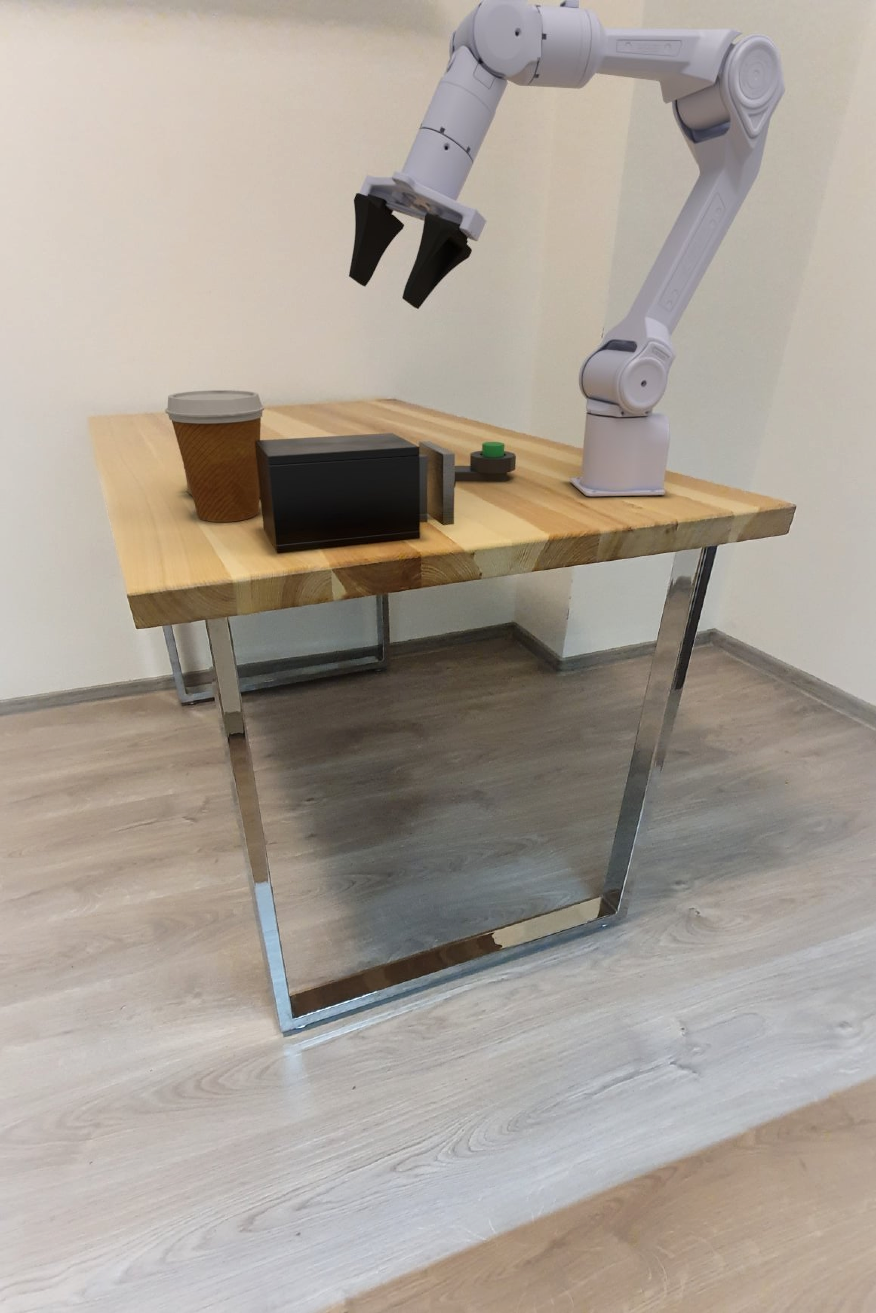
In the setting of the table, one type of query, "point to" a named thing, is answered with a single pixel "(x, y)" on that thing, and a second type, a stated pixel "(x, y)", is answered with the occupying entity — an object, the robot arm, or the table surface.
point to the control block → (486, 467)
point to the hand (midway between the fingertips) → (382, 292)
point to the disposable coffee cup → (219, 450)
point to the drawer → (436, 483)
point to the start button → (493, 449)
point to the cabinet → (338, 491)
